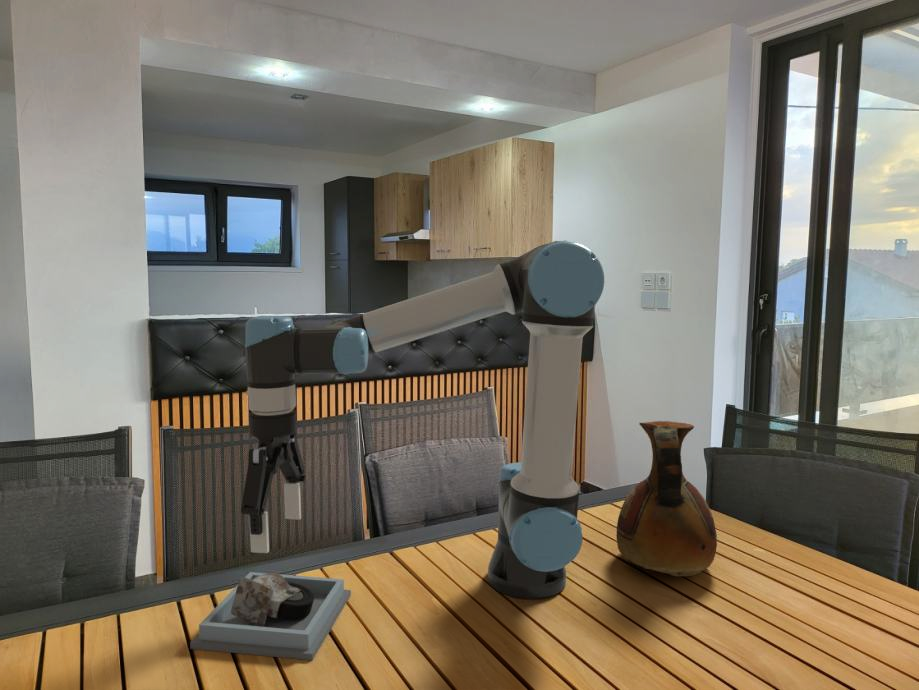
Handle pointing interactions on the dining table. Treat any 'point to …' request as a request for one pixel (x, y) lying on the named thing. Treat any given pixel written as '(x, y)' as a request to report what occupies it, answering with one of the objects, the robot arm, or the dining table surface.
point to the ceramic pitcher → (667, 511)
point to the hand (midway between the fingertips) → (277, 534)
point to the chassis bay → (275, 624)
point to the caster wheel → (270, 599)
